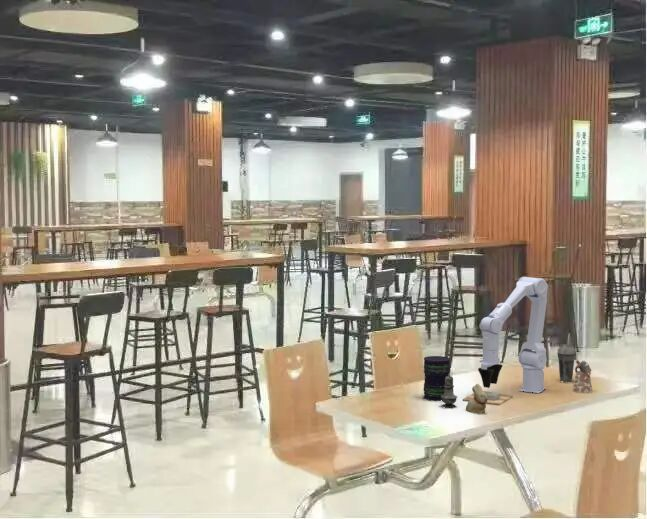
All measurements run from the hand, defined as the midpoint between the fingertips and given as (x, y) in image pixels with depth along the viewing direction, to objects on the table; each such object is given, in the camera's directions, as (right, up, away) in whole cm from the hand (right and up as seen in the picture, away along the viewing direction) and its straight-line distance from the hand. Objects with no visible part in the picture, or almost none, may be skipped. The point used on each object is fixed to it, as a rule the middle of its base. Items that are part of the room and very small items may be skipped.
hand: (490, 385), depth 308 cm
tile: (0, -3, 0) cm, 3 cm away
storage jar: (-20, -5, 0) cm, 21 cm away
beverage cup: (+36, -3, +28) cm, 46 cm away
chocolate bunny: (-9, -6, -21) cm, 23 cm away
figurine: (+38, -4, +11) cm, 40 cm away
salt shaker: (-17, -6, -13) cm, 23 cm away
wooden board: (-1, -5, -2) cm, 5 cm away
